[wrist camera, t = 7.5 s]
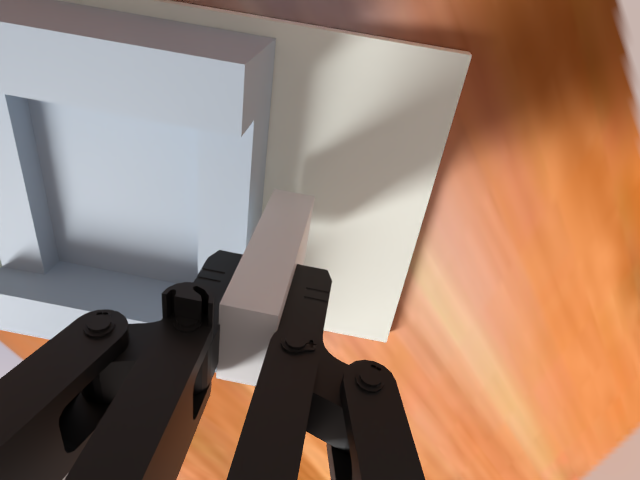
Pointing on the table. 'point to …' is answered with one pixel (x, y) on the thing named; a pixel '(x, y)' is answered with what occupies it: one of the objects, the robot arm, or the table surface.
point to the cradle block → (122, 157)
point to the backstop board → (348, 146)
